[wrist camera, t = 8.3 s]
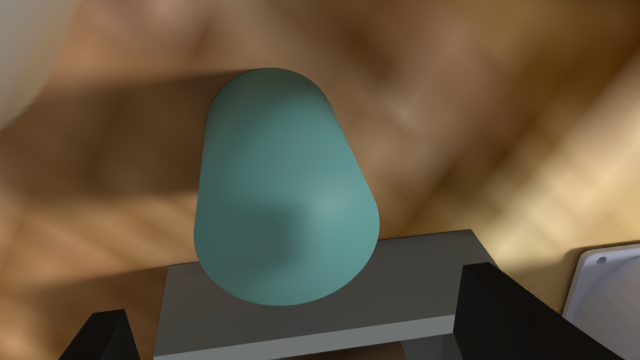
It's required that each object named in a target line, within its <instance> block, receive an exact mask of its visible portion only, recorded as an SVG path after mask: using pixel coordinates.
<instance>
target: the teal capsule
mask: <svg viewBox="0 0 640 360" xmlns="http://www.w3.org/2000/svg"><path fill="white" fill-rule="evenodd" d="M379 227H380V226H379V213H378V208H377V205H376V202H375V200H374V197H373V195H372V193H371V191H370V189H369V187H368V184H367V182H366V180H365V178H364V176H363V174H362V172H361V169H360V167H359V165H358V163H357V161H356V159H355V157H354V155H353V152H352V150H351V148H350V146H349V144H348V142H347V140H346V138H345V135H344V133H343V131H342V129H341V127H340V125H339V123H338V120H337V118H336V116H335V114H334V112H333V110H332V108H331V106H330V103H329V102H328V100H327V98H326V96H325V95H324V93H323V92H322V91H321V89H320V88H319V87H318V86H317V85H316V84H315V83H313V82H312V81H311V80H309V79H308V78H306V77H304V76H303V75H301V74H298V73H296V72H293V71H290V70H286V69H280V68H262V69H256V70H252V71H249V72H246V73H244V74H241V75H239V76H238V77H236V78H234V79H233V80H231V81H230V82H229V83H227V84H226V85H225V86H224V87H223V88H222V89H221V90H220V91H219V93H218V94H217V95H216V97H215V98H214V100H213V102H212V104H211V106H210V108H209V111H208V115H207V119H206V127H205V136H204V145H203V154H202V163H201V172H200V181H199V190H198V199H197V208H196V217H195V226H194V244H195V250H196V253H197V257H198V259H199V261H200V263H201V265H202V267H203V269H204V270H205V272H206V273H207V275H208V276H209V277H210V278H211V279H212V280H213V281H214V282H215V283H216V284H217V285H218V286H220V287H221V288H222V289H224V290H225V291H227V292H228V293H230V294H232V295H234V296H236V297H238V298H240V299H243V300H246V301H249V302H253V303H257V304H262V305H271V306H287V305H296V304H302V303H307V302H310V301H314V300H317V299H319V298H322V297H325V296H327V295H329V294H331V293H333V292H335V291H337V290H338V289H340V288H341V287H343V286H344V285H346V284H347V283H348V282H349V281H351V280H352V279H353V278H354V277H355V276H356V275H357V274H358V273H359V272H360V271H361V270H362V268H363V267H364V266H365V265H366V263H367V262H368V260H369V258H370V257H371V255H372V253H373V251H374V248H375V246H376V243H377V239H378V235H379Z"/></svg>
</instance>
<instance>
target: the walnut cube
mask: <svg viewBox="0 0 640 360" xmlns="http://www.w3.org/2000/svg"><path fill="white" fill-rule="evenodd" d="M281 360H407V358H406V355H405V352H404V350H403V347H402V344H401V342H400V341H394V342H387V343H380V344H374V345H367V346H360V347H353V348H346V349H339V350H332V351H325V352H319V353H312V354H305V355H298V356H291V357H284V358H281Z"/></svg>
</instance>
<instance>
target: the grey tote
mask: <svg viewBox="0 0 640 360" xmlns="http://www.w3.org/2000/svg"><path fill="white" fill-rule="evenodd" d="M484 262H490V263H491V264H493V265H494V266H496V267H497V268H498V266H497V265H496V263H495V262H494V261H493V259H492V258H491V256H490V255H489V254H488V252H487V251H486V249H485V248H484V247H483V245H482V244H481V242H480V241H479V240H478V238H477V237H476V235H475V234H474V233H473V231H472V230H463V231H455V232H447V233H438V234H430V235H421V236H413V237H405V238H396V239H388V240H380V241H377V243H376V246H375V248H374V251H373V253H372V255H371V257H370V258H369V260H368V262H367V263H366V265H365V266H364V267H363V268H362V270H361V271H360V272H359V273H358V274H357V275H356V276H355V277H354V278H353V279H352V280H351V281H349V282H348V283H347V284H346V285H344V286H343V287H341V288H340V289H338V290H337V291H335V292H333V293H331V294H329V295H327V296H325V297H322V298H319V299H317V300H314V301H310V302H307V303H302V304H296V305H287V306H271V305H262V304H257V303H253V302H249V301H246V300H243V299H240V298H238V297H236V296H234V295H232V294H230V293H228V292H227V291H225V290H224V289H222V288H221V287H220V286H218V285H217V284H216V283H215V282H214V281H213V280H212V279H211V278H210V277H209V276H208V275H207V273H206V272H205V270H204V269H203V267H202V265H201V263H200V262H196V263H188V264H179V265H171V266H168V271H167V277H166V283H165V289H164V295H163V301H162V307H161V312H160V318H159V324H158V330H157V336H156V342H155V348H154V354H153V359H154V360H281V358H284V357H291V356H298V355H305V354H312V353H319V352H325V351H332V350H339V349H346V348H353V347H360V346H367V345H374V344H380V343H387V342H394V341H400V342H401V344H402V347H403V350H404V352H405V355H406V358H407V360H463V358H462V355H461V353H460V350H459V347H458V344H457V342H456V339H455V336H454V333H453V326H454V320H455V313H456V307H457V300H458V294H459V287H460V280H461V274H462V267H463V265H468V264H476V263H484ZM498 269H499V268H498Z"/></svg>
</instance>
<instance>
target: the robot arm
mask: <svg viewBox="0 0 640 360" xmlns="http://www.w3.org/2000/svg"><path fill="white" fill-rule="evenodd" d="M453 333H454V336H455V339H456V342H457V344H458V347H459V350H460V353H461V355H462V358H463V360H640V244H633V245H625V246H617V247H609V248H602V249H594V250H588V251H586V252H584V253H583V254H582V255H581V256H580V258H579V261H578V264H577V268H576V271H575V274H574V278H573V281H572V284H571V287H570V291H569V294H568V297H567V301H566V304H565V307H564V311H563V314H562V316H561V315H559V314H558V313H557V312H555V311H554V310H553V309H551V308H550V307H549V306H547V305H546V304H544V303H543V302H542V301H541V300H539V299H538V298H537V297H535V296H534V295H533V294H531V293H530V292H529V291H527V290H526V289H525V288H523V287H522V286H521V285H519V284H518V283H517V282H516V281H514V280H513V279H512V278H510V277H509V276H508V275H506V274H505V273H504V272H502V271H501V270H500V269H498V268H497V267H496V266H494V265H493V264H491V263H490V262H484V263H476V264H468V265H463V267H462V274H461V280H460V287H459V294H458V300H457V307H456V313H455V320H454V326H453ZM59 360H140V357H139V354H138V351H137V348H136V344H135V341H134V338H133V335H132V332H131V328H130V325H129V322H128V319H127V316H126V312H125V309H121V310H113V311H105V312H98V313H93V314H92V315H91V316H90V317H89V318H88V320H87V321H86V323H85V324H84V325H83V327H82V328H81V329H80V331H79V332H78V334H77V335H76V336H75V338H74V339H73V340H72V342H71V343H70V345H69V346H68V347H67V349H66V350H65V351H64V353H63V354H62V356H61V357H60V358H59Z"/></svg>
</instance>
